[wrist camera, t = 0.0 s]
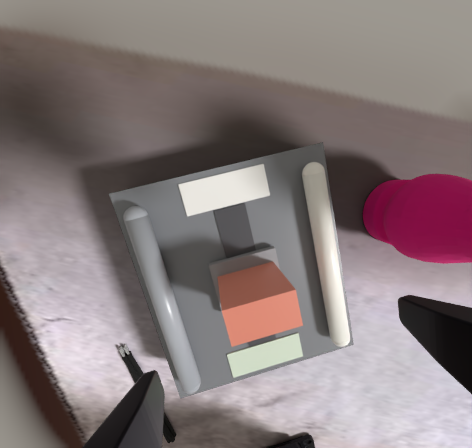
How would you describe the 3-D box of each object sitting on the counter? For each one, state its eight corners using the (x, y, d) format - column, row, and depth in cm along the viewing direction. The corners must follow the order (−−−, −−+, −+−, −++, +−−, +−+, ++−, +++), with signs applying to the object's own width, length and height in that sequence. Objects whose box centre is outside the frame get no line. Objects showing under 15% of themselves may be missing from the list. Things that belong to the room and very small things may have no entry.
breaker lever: (283, 295, 20) (312, 337, 15) (222, 313, 20) (229, 363, 14) (273, 245, 19) (299, 272, 14) (208, 263, 19) (210, 297, 13)
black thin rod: (119, 345, 24) (115, 352, 23) (129, 341, 24) (125, 348, 23) (168, 435, 26) (166, 445, 25) (177, 431, 26) (175, 441, 25)
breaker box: (331, 319, 26) (365, 357, 20) (184, 363, 25) (178, 416, 19) (302, 148, 22) (334, 139, 17) (126, 190, 21) (99, 195, 15)
